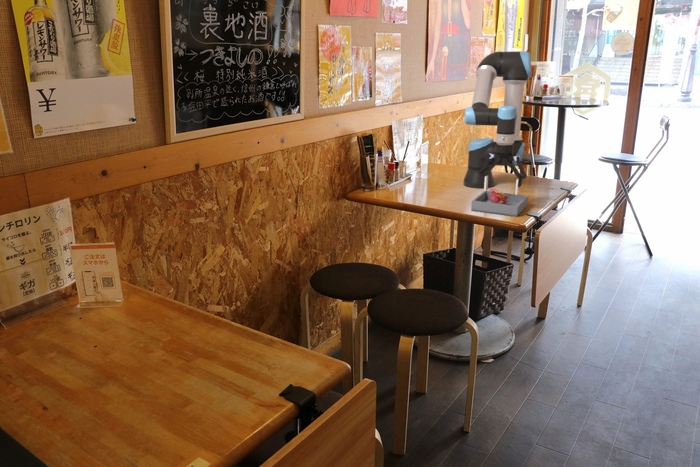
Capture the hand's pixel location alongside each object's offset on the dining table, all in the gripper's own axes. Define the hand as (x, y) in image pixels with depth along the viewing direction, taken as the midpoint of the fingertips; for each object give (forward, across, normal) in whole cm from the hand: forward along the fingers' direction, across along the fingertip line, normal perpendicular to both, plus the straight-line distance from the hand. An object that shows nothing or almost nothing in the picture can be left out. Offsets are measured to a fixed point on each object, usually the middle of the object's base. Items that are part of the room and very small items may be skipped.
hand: (501, 192), depth 250 cm
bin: (+7, 0, 0) cm, 7 cm away
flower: (+7, -1, 0) cm, 7 cm away
